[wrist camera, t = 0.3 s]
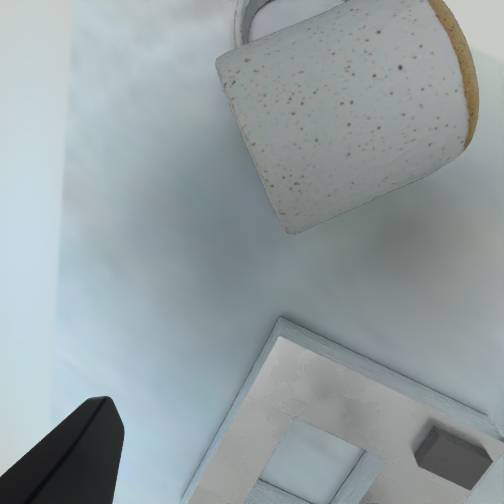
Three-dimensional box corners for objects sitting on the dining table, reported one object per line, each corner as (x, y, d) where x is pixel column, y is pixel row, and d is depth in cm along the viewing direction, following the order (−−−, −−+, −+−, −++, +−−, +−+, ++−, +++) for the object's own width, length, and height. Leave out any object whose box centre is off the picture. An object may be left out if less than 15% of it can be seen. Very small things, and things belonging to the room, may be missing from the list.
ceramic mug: (441, 153, 21) (525, 157, 13) (286, 220, 22) (284, 258, 15) (360, -71, 19) (406, -212, 11) (197, 18, 20) (143, -56, 13)
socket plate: (363, 581, 28) (373, 636, 25) (181, 498, 27) (168, 544, 24) (487, 415, 24) (517, 456, 21) (280, 316, 24) (278, 343, 21)
